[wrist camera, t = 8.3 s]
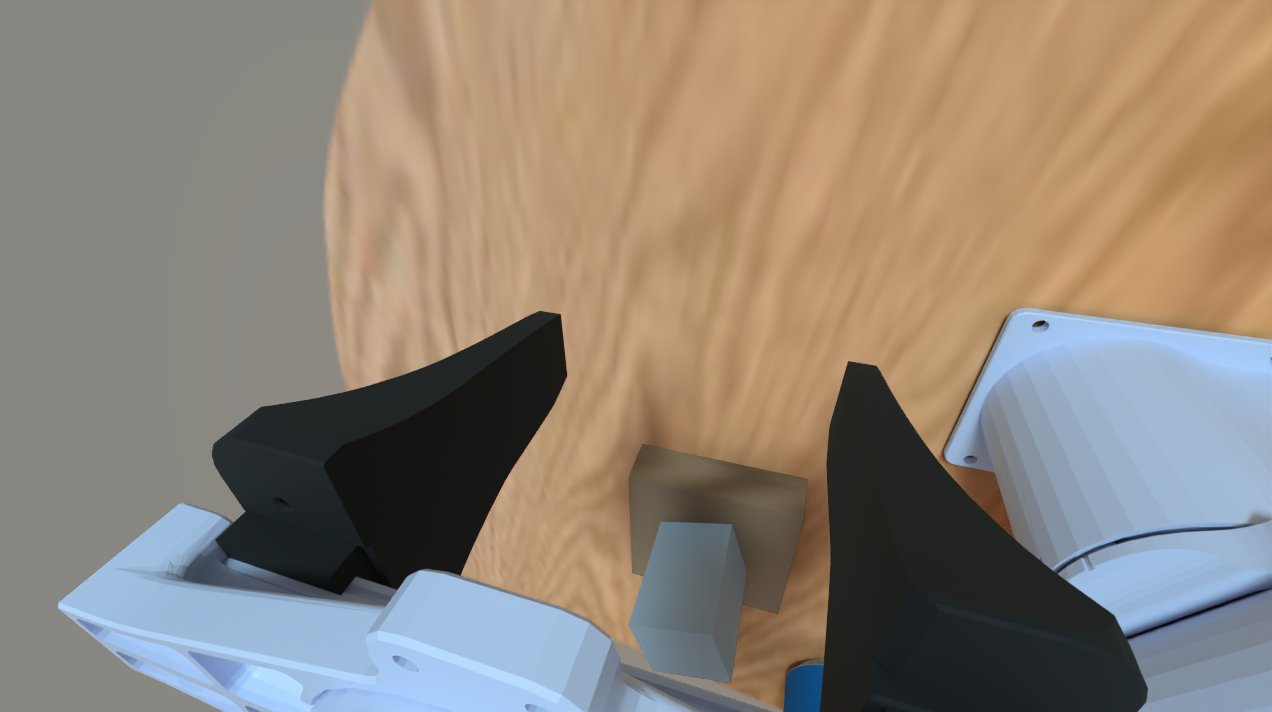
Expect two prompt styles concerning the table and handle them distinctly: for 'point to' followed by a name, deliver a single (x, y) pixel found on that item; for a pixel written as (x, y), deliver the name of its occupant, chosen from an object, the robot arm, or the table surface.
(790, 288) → the table surface
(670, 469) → the taupe plinth
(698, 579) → the slate-blue block
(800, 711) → the beverage can
